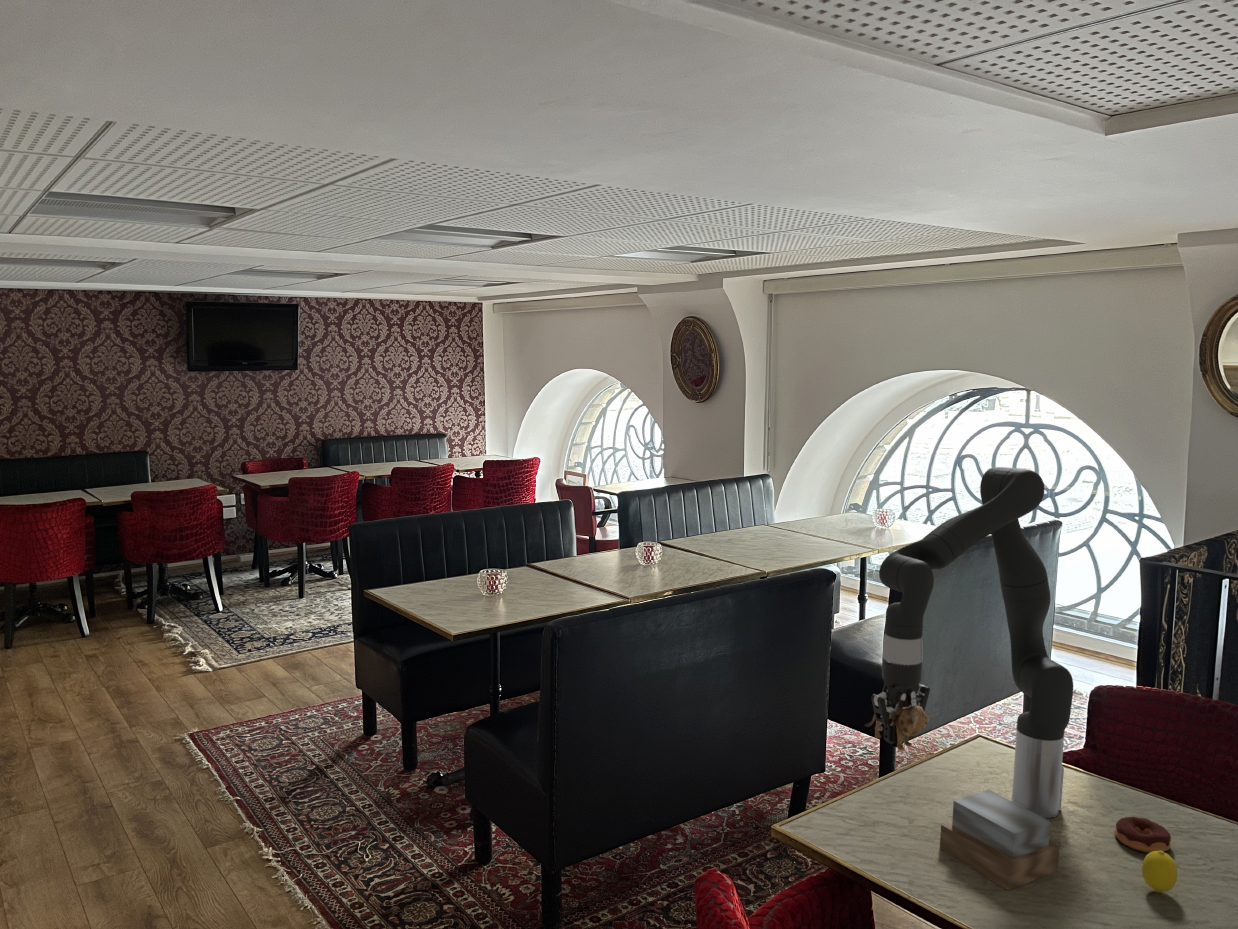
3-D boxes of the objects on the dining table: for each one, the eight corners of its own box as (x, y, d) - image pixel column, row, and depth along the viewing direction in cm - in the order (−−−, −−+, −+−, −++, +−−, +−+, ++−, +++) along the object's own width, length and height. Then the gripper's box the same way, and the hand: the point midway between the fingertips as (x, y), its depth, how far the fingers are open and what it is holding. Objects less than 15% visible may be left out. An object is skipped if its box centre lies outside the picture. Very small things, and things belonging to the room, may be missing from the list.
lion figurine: (932, 751, 177) (934, 706, 176) (915, 758, 174) (917, 713, 173) (872, 725, 189) (874, 684, 188) (855, 731, 186) (856, 689, 185)
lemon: (1133, 884, 168) (1137, 843, 167) (1161, 883, 169) (1165, 842, 168) (1153, 902, 163) (1157, 860, 162) (1182, 900, 163) (1186, 859, 162)
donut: (1117, 825, 190) (1119, 807, 189) (1172, 840, 184) (1174, 822, 183) (1110, 846, 181) (1112, 827, 181) (1167, 862, 176) (1169, 843, 175)
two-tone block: (988, 831, 186) (991, 785, 185) (1058, 870, 172) (1061, 821, 171) (939, 848, 180) (942, 800, 178) (1008, 890, 166) (1011, 839, 164)
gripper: (914, 645, 185) (910, 726, 187) (861, 656, 178) (858, 740, 180) (943, 656, 178) (939, 740, 180) (889, 668, 171) (886, 754, 174)
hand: (898, 739), depth 180 cm, fingers closed on lion figurine, 4 cm apart
